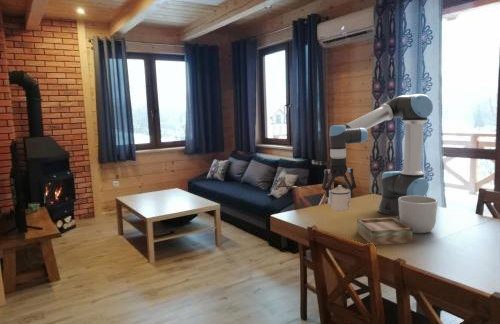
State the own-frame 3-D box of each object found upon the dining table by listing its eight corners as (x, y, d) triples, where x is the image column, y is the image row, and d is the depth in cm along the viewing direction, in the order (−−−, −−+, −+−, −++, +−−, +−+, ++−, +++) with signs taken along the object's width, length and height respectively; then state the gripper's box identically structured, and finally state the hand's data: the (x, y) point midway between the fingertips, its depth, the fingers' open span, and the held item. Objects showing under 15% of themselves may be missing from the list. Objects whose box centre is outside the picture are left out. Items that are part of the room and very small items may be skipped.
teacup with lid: (352, 210, 178) (352, 186, 177) (333, 212, 178) (332, 187, 176) (345, 204, 190) (344, 182, 189) (327, 205, 190) (326, 183, 188)
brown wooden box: (393, 229, 181) (393, 217, 180) (412, 242, 163) (412, 228, 162) (356, 232, 180) (356, 219, 179) (371, 244, 162) (371, 230, 161)
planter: (442, 229, 179) (443, 198, 177) (429, 239, 167) (429, 205, 165) (406, 223, 190) (406, 194, 189) (391, 231, 179) (392, 200, 177)
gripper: (357, 155, 185) (358, 199, 188) (314, 157, 184) (315, 202, 187) (363, 156, 178) (363, 203, 181) (317, 159, 176) (319, 206, 179)
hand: (339, 203), depth 184 cm, fingers closed on teacup with lid, 9 cm apart
